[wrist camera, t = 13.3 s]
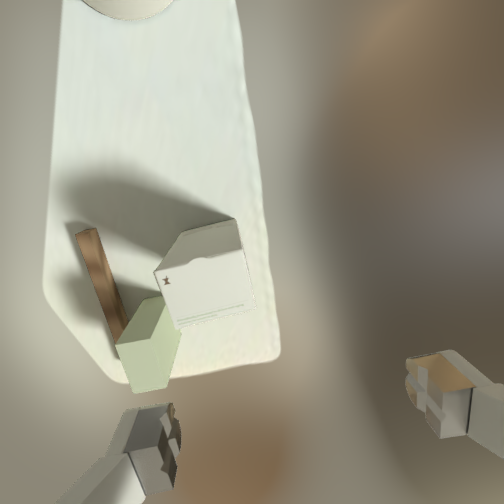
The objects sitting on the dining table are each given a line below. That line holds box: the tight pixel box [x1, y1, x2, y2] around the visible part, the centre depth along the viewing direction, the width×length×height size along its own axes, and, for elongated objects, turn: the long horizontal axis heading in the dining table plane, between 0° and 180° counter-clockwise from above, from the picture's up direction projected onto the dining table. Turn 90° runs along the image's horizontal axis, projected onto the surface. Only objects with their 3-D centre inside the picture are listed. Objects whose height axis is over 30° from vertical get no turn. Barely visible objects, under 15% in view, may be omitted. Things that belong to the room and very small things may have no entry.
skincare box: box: [153, 219, 256, 330], centre depth 33 cm, size 8×7×16 cm
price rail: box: [75, 228, 129, 344], centre depth 41 cm, size 22×2×2 cm, turn 9°
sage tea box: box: [115, 296, 182, 394], centre depth 38 cm, size 7×4×11 cm, turn 9°
